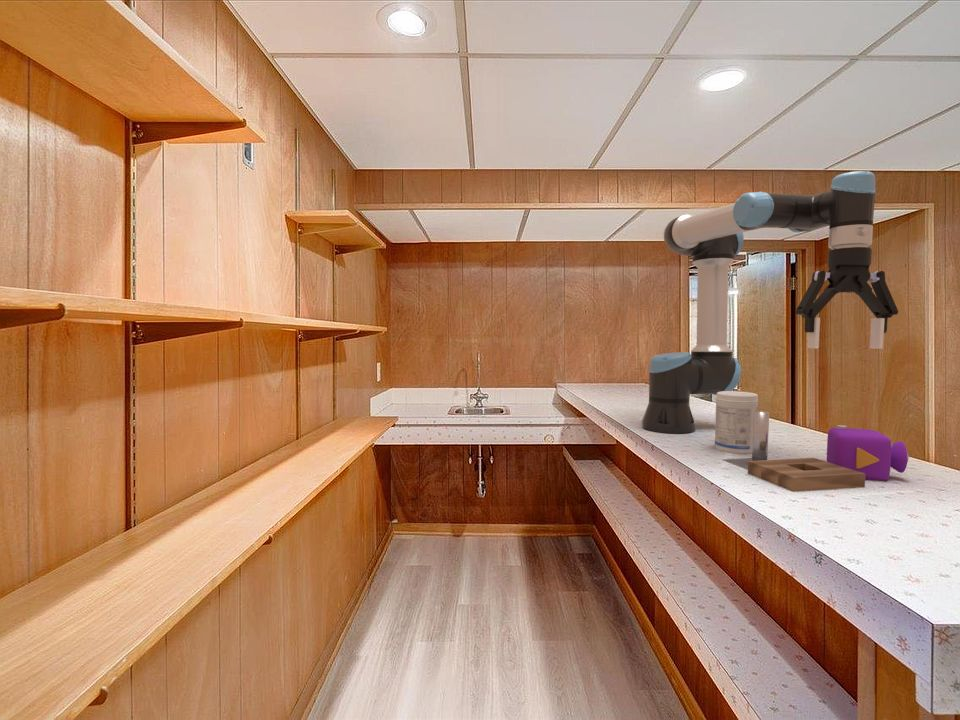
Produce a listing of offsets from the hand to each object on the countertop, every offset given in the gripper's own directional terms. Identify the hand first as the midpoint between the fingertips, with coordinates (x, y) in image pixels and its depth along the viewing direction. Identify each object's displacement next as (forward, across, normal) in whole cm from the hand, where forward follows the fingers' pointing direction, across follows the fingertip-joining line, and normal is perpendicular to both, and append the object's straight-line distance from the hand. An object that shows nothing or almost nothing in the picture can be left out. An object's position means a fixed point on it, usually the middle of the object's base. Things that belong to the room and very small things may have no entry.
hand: (844, 348), depth 109 cm
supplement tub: (+27, -14, +17) cm, 35 cm away
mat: (+27, -16, +2) cm, 31 cm away
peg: (+26, -16, +2) cm, 31 cm away
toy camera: (+27, +3, -4) cm, 27 cm away
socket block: (+27, -13, -8) cm, 31 cm away
